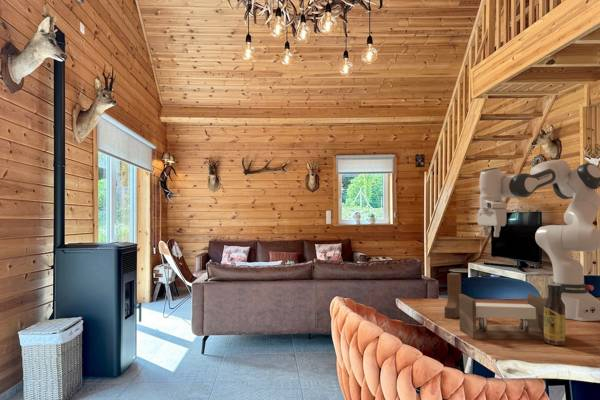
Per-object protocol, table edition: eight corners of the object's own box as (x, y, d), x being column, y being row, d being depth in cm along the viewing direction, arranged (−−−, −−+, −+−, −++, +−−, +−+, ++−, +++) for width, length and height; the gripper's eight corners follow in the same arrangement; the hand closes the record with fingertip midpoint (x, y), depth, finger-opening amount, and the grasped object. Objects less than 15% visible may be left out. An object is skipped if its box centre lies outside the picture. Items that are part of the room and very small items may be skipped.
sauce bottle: (539, 340, 144) (538, 282, 145) (556, 340, 144) (555, 282, 145) (552, 346, 137) (551, 285, 138) (570, 346, 138) (569, 285, 139)
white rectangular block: (529, 315, 154) (529, 304, 154) (535, 319, 148) (535, 307, 148) (472, 313, 157) (471, 302, 157) (476, 317, 151) (476, 305, 151)
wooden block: (455, 319, 175) (454, 275, 176) (444, 317, 178) (443, 274, 178) (461, 315, 182) (461, 273, 183) (451, 313, 185) (450, 272, 185)
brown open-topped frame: (531, 329, 158) (530, 293, 158) (550, 339, 146) (549, 300, 146) (459, 329, 158) (459, 293, 158) (472, 339, 146) (472, 300, 146)
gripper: (473, 205, 194) (474, 235, 194) (494, 203, 174) (494, 237, 173) (487, 205, 194) (487, 235, 194) (509, 203, 174) (509, 237, 173)
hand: (491, 236), depth 183 cm, fingers open, 8 cm apart
